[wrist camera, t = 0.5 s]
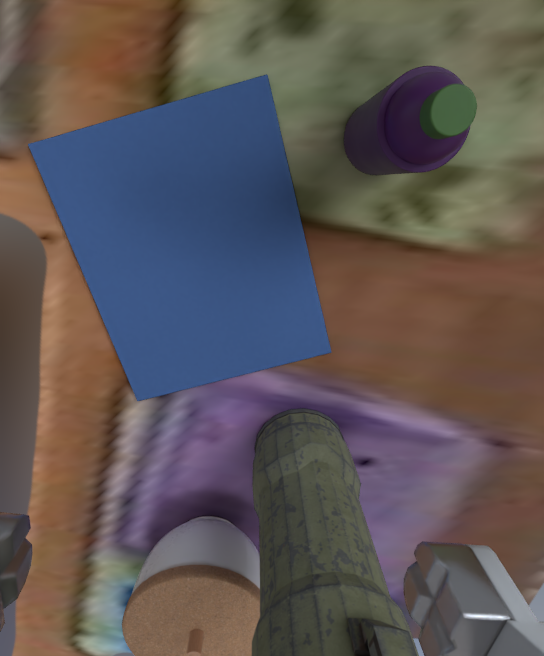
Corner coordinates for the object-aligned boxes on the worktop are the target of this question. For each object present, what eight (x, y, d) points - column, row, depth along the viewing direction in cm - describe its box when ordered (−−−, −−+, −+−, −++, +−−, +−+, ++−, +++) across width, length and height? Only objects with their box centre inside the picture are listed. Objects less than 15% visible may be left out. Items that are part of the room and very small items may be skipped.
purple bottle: (337, 110, 30) (389, 63, 18) (407, 90, 30) (506, 29, 18) (350, 183, 32) (406, 183, 20) (417, 164, 31) (513, 154, 20)
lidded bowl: (123, 545, 43) (81, 662, 33) (202, 473, 40) (184, 574, 30) (214, 602, 46) (201, 724, 36) (293, 539, 43) (304, 651, 33)
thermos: (360, 401, 38) (1022, 1801, 5) (327, 501, 42) (589, 1675, 9) (267, 385, 37) (355, 1965, 4) (242, 488, 41) (186, 1746, 8)
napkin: (29, 144, 30) (27, 144, 30) (267, 75, 29) (267, 74, 29) (138, 399, 37) (137, 401, 37) (330, 351, 36) (331, 352, 36)
